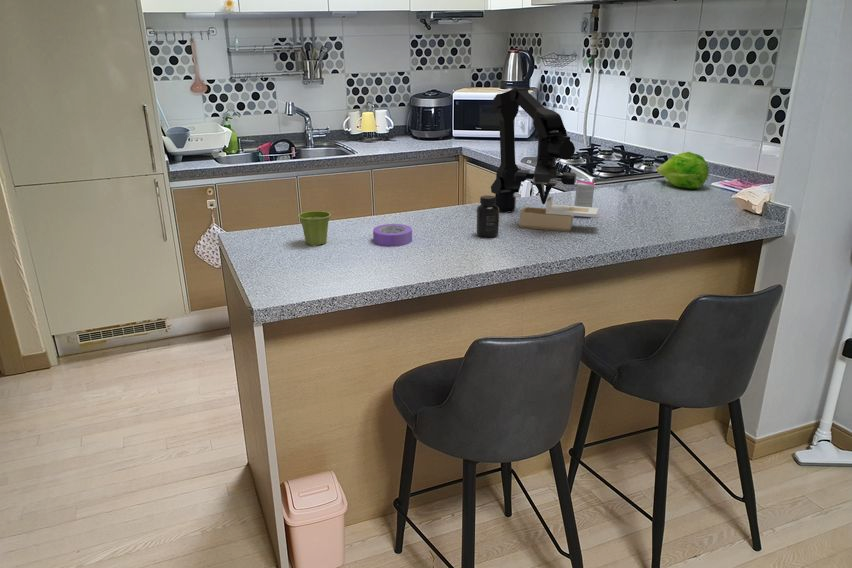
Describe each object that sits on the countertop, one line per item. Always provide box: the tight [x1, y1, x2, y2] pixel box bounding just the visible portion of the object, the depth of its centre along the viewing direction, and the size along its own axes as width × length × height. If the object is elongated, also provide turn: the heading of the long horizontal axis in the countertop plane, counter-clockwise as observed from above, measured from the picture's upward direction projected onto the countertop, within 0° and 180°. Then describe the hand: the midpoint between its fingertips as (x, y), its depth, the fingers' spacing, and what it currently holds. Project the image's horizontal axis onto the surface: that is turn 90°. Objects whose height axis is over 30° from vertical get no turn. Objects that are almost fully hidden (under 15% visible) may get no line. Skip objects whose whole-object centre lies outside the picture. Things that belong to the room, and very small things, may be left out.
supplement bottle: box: [476, 195, 500, 239], centre depth 204 cm, size 7×7×12 cm
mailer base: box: [518, 206, 574, 233], centre depth 214 cm, size 16×8×5 cm, turn 73°
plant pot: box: [297, 210, 332, 246], centre depth 198 cm, size 9×9×9 cm
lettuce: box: [656, 151, 710, 190], centre depth 269 cm, size 15×22×15 cm
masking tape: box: [372, 223, 413, 247], centre depth 201 cm, size 12×12×4 cm
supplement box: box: [573, 180, 595, 219], centre depth 225 cm, size 6×6×12 cm
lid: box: [545, 195, 599, 218], centre depth 210 cm, size 16×8×4 cm, turn 73°
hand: (543, 203), depth 213 cm, fingers closed
